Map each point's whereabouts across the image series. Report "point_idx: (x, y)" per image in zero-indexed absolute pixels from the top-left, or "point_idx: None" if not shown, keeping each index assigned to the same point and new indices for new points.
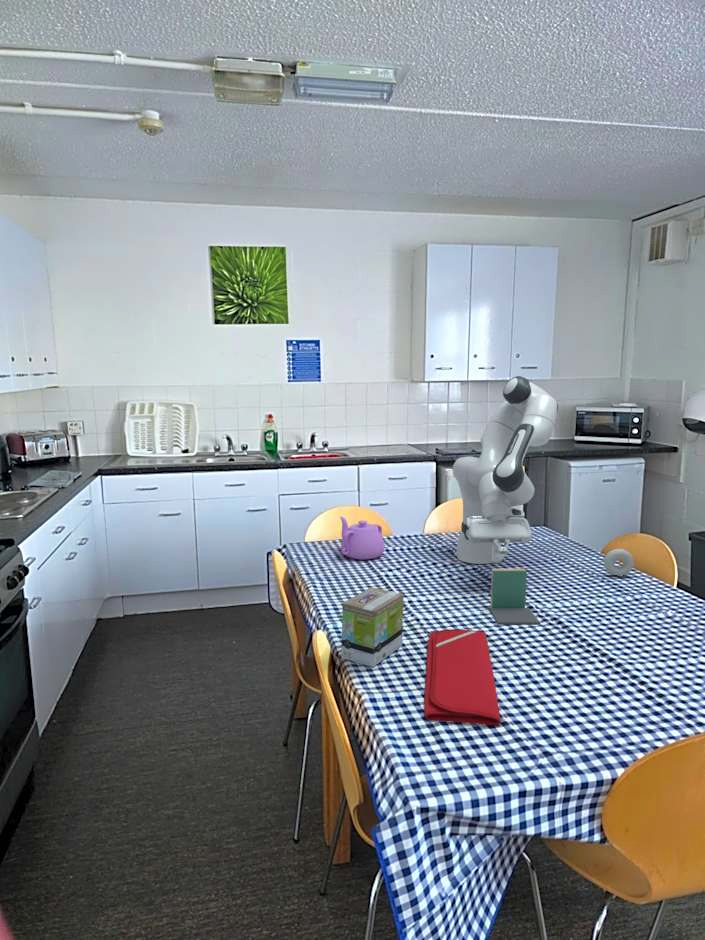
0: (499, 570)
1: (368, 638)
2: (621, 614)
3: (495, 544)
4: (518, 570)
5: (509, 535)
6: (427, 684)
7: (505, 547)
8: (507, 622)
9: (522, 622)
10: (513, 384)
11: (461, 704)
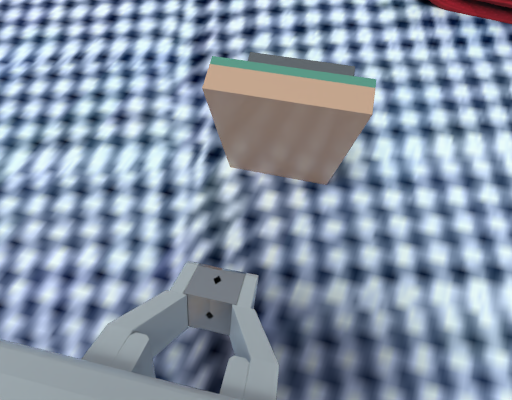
0: (342, 82)
1: None
2: (25, 75)
3: (266, 346)
4: (247, 68)
5: (37, 384)
6: None
7: (188, 288)
8: (330, 63)
9: (292, 58)
10: None
11: None
